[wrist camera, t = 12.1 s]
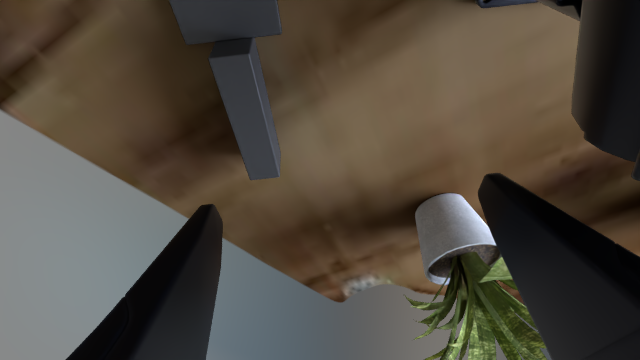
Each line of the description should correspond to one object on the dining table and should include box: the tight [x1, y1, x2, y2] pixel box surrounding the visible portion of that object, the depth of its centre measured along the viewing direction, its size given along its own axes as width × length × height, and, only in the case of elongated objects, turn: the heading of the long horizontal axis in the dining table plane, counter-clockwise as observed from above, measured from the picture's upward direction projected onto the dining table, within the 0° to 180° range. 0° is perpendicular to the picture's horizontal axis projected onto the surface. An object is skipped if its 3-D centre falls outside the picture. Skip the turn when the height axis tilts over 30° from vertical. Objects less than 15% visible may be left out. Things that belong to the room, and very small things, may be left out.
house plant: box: [406, 193, 547, 360], centre depth 24 cm, size 14×14×16 cm
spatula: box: [169, 0, 282, 180], centre depth 18 cm, size 15×6×3 cm, turn 5°
